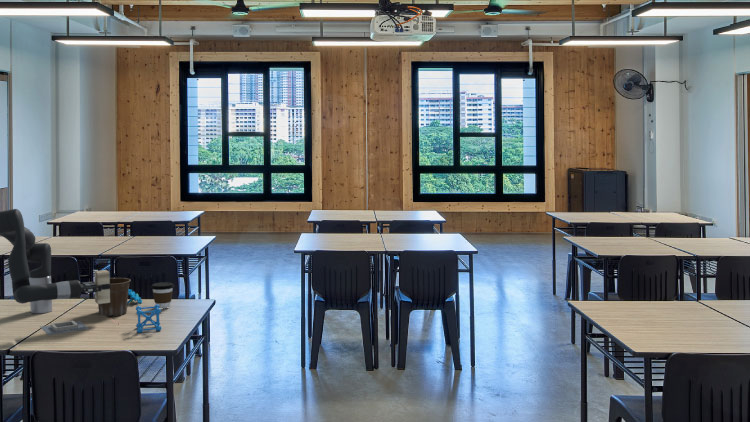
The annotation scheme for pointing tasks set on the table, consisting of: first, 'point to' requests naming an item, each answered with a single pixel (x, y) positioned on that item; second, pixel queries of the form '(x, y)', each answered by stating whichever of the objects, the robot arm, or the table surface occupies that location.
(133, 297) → the gear
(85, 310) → the table surface
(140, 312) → the molecular structure
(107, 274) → the maple block
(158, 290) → the coffee cup
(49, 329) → the puzzle board
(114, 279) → the plant pot
